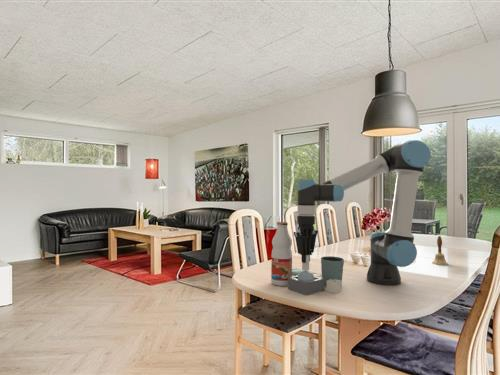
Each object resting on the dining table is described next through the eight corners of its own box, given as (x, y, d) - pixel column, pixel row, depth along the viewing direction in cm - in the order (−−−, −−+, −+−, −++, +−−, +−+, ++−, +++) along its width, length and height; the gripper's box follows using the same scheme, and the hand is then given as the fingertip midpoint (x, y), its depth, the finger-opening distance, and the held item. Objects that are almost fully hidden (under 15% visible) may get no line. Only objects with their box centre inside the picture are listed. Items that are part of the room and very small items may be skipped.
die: (340, 290, 147) (340, 280, 147) (336, 293, 144) (336, 282, 144) (331, 288, 150) (331, 278, 150) (326, 291, 146) (326, 280, 146)
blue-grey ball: (317, 287, 148) (317, 270, 148) (306, 290, 144) (306, 273, 144) (305, 283, 154) (305, 267, 154) (294, 286, 149) (294, 270, 149)
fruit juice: (296, 283, 158) (296, 222, 158) (282, 287, 151) (283, 223, 151) (280, 279, 165) (281, 221, 165) (266, 283, 158) (267, 222, 158)
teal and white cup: (320, 281, 162) (320, 255, 162) (342, 282, 160) (342, 256, 160) (321, 287, 152) (321, 260, 152) (345, 288, 150) (345, 261, 150)
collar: (324, 290, 148) (324, 278, 148) (306, 295, 141) (306, 283, 141) (305, 284, 156) (305, 273, 156) (287, 288, 150) (287, 277, 150)
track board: (332, 280, 164) (332, 277, 164) (314, 284, 156) (314, 282, 156) (296, 270, 184) (296, 267, 184) (277, 273, 176) (277, 271, 176)
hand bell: (432, 264, 198) (432, 236, 198) (431, 261, 206) (431, 235, 206) (449, 265, 195) (449, 237, 195) (446, 263, 203) (447, 235, 203)
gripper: (310, 213, 156) (309, 266, 156) (289, 215, 148) (288, 270, 148) (323, 215, 150) (322, 269, 150) (301, 216, 142) (301, 273, 142)
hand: (305, 269), depth 149 cm, fingers closed
